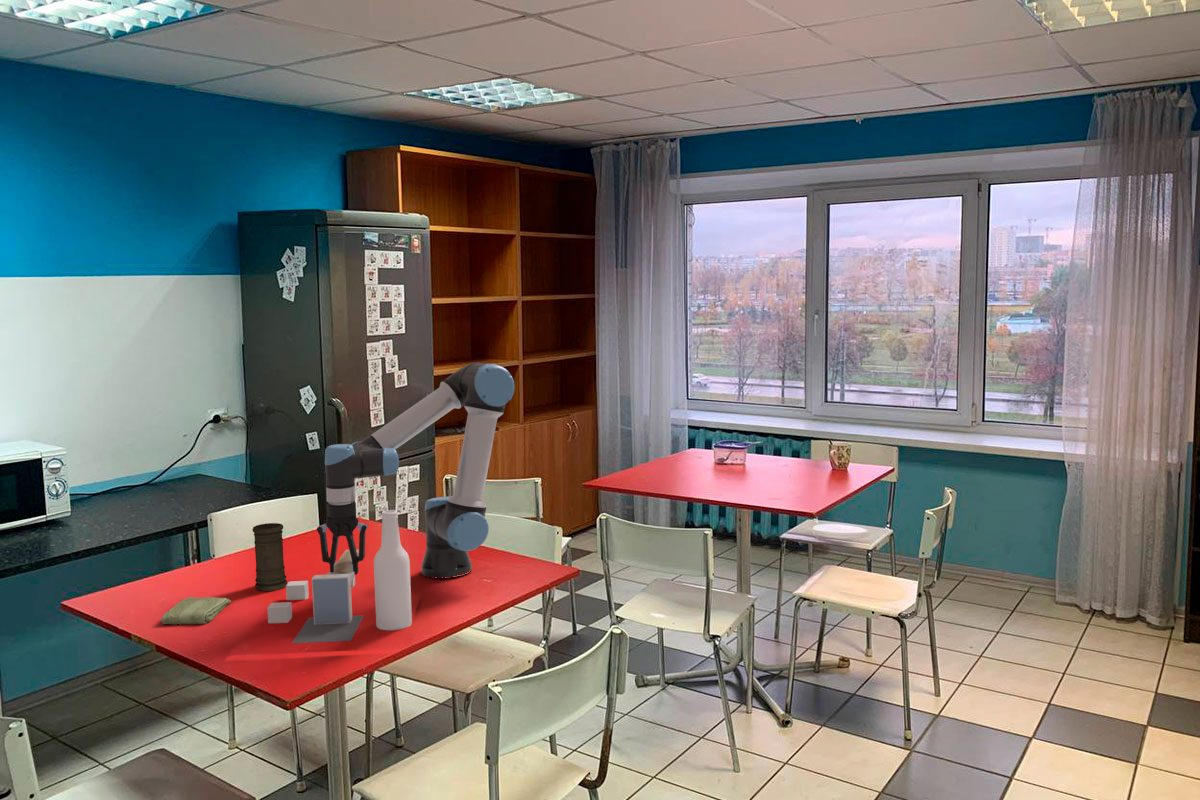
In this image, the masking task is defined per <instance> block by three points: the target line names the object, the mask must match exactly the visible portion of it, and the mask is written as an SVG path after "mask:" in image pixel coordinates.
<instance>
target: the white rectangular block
mask: <svg viewBox="0 0 1200 800" xmlns="http://www.w3.org/2000/svg"><path fill="white" fill-rule="evenodd" d="M311 588H312V589H311V590H312V593H311V594H312V609H313V610H312V611H313V612H312V613H313V618H314V625H318V624H342V623H351V621H352V616H353V605H352V588H351V578H350V574H329V575H326V574H315V575H313V576H312V577H311Z"/></svg>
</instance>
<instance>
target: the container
mask: <svg viewBox="0 0 1200 800" xmlns="http://www.w3.org/2000/svg"><path fill="white" fill-rule="evenodd" d="M283 529H284V525H283V524H282V523H277V522H276V523H275V522H272V523H271V522H268V523H260V524H258V525H255V526H253V527H252V533H253V536H254V553H255V574H256V575H255V577H256V578H255V580H254V581H255V584H254V587H255V589H256V590H258V591H260V590H262V591H261V592H269V591H270V592H272V591H278V590H281V589H283V588H286V585H287V584H288V581H287V575H286V571H285V569H286V567H285V561H284V545H283V544H284V539H283Z"/></svg>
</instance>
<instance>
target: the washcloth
mask: <svg viewBox="0 0 1200 800" xmlns="http://www.w3.org/2000/svg"><path fill="white" fill-rule="evenodd" d="M231 602H232V601H231V600H230V599H229V598H227V597H214V596H204V597H193V596H189V597H186V598H184V599H181V600H180V601H179V602H178V603H177V604H175V605H173V607H171V609H168V610H167V611H166V612H165V613H164V614H163V615H162V616H161V619H160V622H161V624H162V625H164V624H171V625H177V624H179V625H206V624H208V623H209V622H212V621H213V620H214V619H215V617H217V614H219V613H221V611H223V609H225V607H227V606H228V605H229V604H231ZM207 622H208V623H207Z"/></svg>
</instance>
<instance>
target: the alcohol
mask: <svg viewBox="0 0 1200 800" xmlns="http://www.w3.org/2000/svg"><path fill="white" fill-rule="evenodd" d="M398 514H399V513H398V511H397V510H396V509H386V510H383V511H382V512H381V520H382V521H381V545H380V548H379V549H378V551H377V552H376V553H375V556H374V558H373V575H374V576H373V577H374V598H375V599H374V600H375V601H374V603H375V605H374V606H375V627H376V628H377V629H379V630H382V631H397V630H402V629H407V628H408V627H411V625H413V620H412V619H413V615H412V592H411V589H412V588H411V566H410V563H411V562H410V557H409V553H408V552H407V551H406V550H405V549H404V547H403V546H402V543H401V538H400V529H399V520H398V518H399V516H398Z"/></svg>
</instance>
